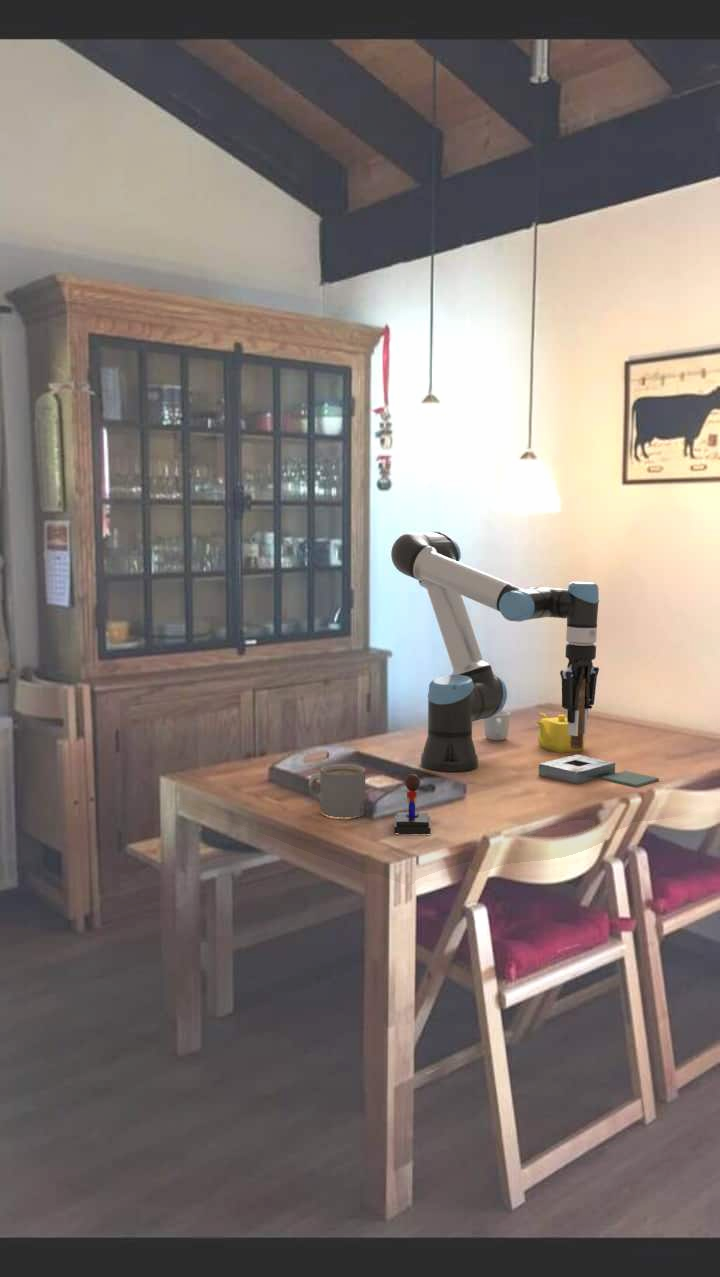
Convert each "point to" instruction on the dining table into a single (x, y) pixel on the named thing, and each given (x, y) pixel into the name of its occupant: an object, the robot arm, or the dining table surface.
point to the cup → (497, 726)
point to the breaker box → (576, 769)
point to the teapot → (555, 734)
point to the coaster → (630, 778)
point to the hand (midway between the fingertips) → (576, 733)
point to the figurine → (412, 812)
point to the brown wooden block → (578, 740)
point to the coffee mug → (339, 789)
